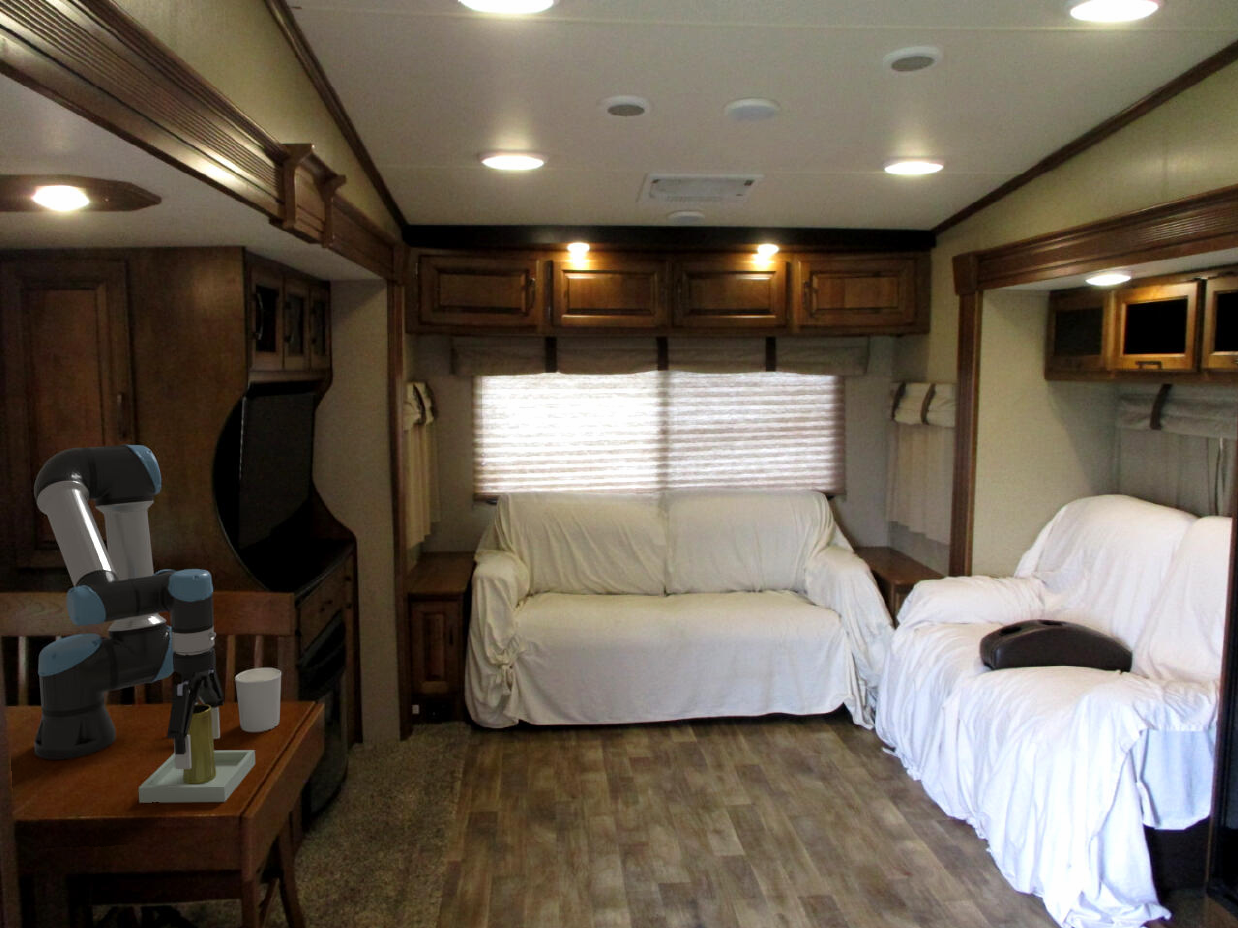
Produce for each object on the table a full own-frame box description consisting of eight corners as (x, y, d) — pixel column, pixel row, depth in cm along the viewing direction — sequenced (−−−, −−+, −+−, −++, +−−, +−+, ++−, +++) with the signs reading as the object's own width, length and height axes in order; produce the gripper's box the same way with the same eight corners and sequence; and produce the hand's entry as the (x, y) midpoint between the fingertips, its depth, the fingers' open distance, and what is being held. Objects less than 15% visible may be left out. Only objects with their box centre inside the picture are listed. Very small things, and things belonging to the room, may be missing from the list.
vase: (203, 786, 174) (200, 716, 172) (175, 782, 175) (172, 713, 173) (222, 771, 180) (220, 704, 178) (196, 768, 181) (192, 701, 179)
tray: (139, 802, 169) (138, 787, 169) (177, 764, 185) (176, 750, 185) (224, 801, 170) (224, 786, 170) (255, 763, 186) (254, 749, 186)
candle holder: (252, 714, 211) (251, 666, 210) (291, 718, 209) (289, 669, 208) (228, 731, 202) (226, 680, 200) (267, 735, 200) (266, 683, 198)
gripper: (185, 671, 162) (190, 781, 165) (237, 629, 187) (241, 726, 189) (143, 671, 162) (149, 782, 164) (201, 629, 187) (205, 726, 189)
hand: (198, 752), depth 177 cm, fingers open, 13 cm apart
